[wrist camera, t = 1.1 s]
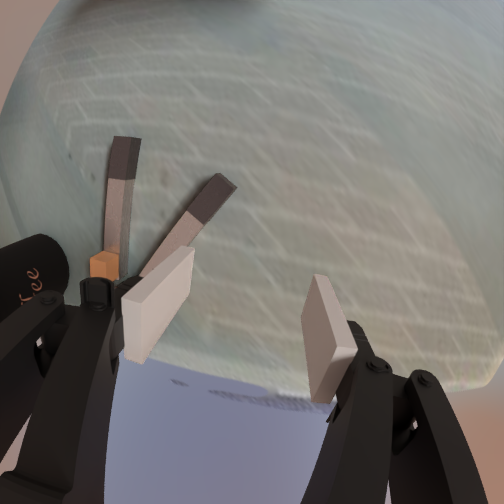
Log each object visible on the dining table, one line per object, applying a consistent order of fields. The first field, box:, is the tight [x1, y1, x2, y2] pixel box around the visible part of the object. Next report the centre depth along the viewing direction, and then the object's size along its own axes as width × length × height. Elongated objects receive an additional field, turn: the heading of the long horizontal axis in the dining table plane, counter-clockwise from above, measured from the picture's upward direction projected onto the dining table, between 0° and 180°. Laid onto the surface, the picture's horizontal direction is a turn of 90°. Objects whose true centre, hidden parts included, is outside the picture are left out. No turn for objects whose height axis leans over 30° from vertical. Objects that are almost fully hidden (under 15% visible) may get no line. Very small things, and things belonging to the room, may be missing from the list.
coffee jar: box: [0, 234, 69, 323], centre depth 27 cm, size 11×11×18 cm
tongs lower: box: [104, 136, 141, 289], centre depth 31 cm, size 22×5×3 cm, turn 169°
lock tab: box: [90, 251, 119, 282], centre depth 30 cm, size 3×2×3 cm
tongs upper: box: [139, 173, 237, 277], centre depth 31 cm, size 18×2×2 cm, turn 139°
